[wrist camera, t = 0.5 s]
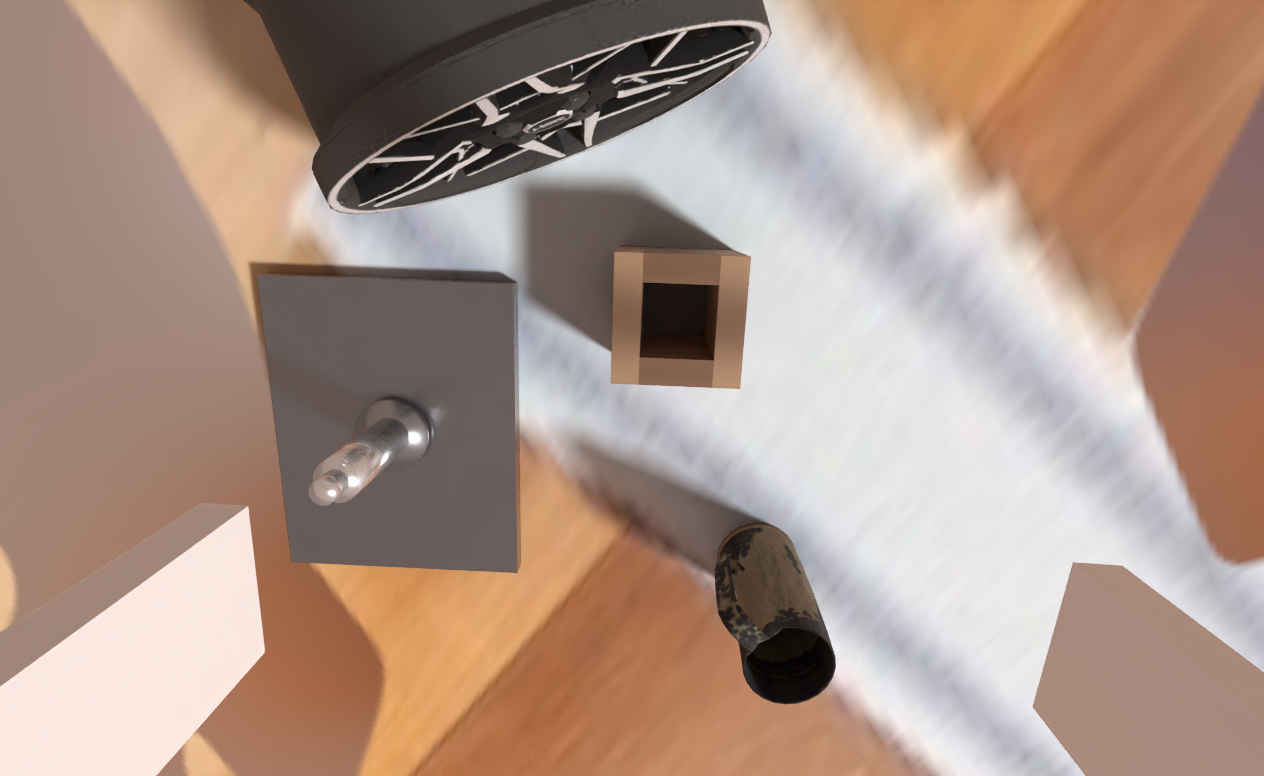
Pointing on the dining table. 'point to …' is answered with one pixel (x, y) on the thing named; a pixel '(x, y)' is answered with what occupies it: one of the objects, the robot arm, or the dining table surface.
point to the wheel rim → (490, 83)
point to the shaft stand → (396, 419)
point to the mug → (773, 615)
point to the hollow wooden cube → (680, 356)
